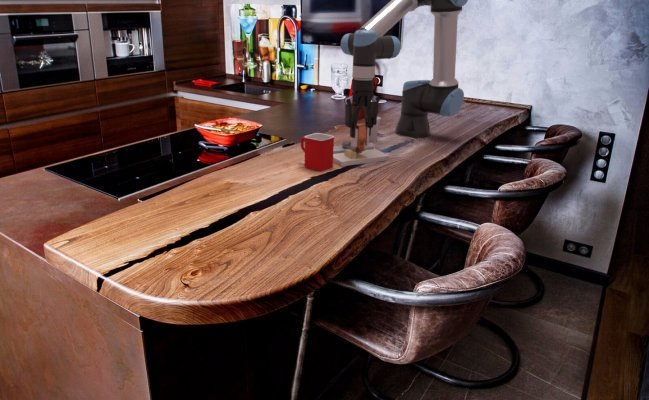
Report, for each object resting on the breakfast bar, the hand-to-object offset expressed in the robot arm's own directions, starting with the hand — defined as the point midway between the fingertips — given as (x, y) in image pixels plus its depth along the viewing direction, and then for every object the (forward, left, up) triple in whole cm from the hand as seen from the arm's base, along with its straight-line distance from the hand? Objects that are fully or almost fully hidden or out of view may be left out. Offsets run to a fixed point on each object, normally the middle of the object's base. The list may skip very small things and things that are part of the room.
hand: (359, 145), depth 175 cm
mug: (+18, -1, -6) cm, 18 cm away
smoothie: (-20, -22, -6) cm, 31 cm away
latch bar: (0, -4, -3) cm, 5 cm away
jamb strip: (-1, -10, -6) cm, 12 cm away
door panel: (-1, -1, -6) cm, 6 cm away
